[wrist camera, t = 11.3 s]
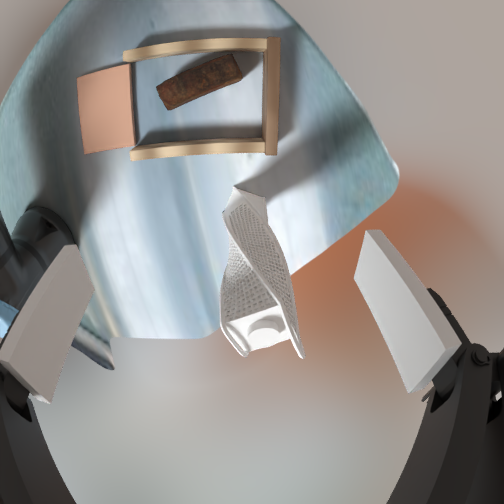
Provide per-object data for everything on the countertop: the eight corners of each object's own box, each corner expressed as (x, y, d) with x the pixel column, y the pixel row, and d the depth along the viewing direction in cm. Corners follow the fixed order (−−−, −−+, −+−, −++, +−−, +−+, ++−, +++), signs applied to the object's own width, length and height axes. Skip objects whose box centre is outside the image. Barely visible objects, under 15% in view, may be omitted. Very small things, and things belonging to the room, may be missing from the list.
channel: (137, 155, 37) (127, 164, 33) (131, 53, 28) (119, 50, 24) (271, 147, 39) (277, 155, 35) (273, 43, 29) (280, 37, 25)
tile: (87, 152, 35) (84, 154, 35) (79, 77, 28) (76, 77, 27) (136, 144, 36) (134, 145, 35) (131, 64, 29) (129, 63, 28)
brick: (230, 58, 30) (232, 51, 26) (240, 81, 32) (243, 77, 28) (160, 88, 31) (152, 85, 27) (170, 111, 33) (164, 111, 29)
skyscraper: (276, 194, 43) (331, 333, 20) (257, 231, 47) (288, 379, 24) (229, 177, 41) (238, 316, 18) (214, 217, 45) (208, 369, 22)
